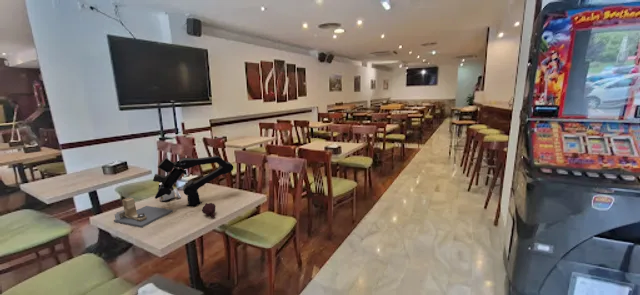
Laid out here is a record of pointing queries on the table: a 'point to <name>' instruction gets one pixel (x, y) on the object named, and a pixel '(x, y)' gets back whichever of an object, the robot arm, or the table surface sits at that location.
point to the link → (131, 210)
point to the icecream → (209, 209)
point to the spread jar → (169, 197)
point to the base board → (150, 213)
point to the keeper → (120, 214)
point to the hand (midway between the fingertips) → (155, 198)
